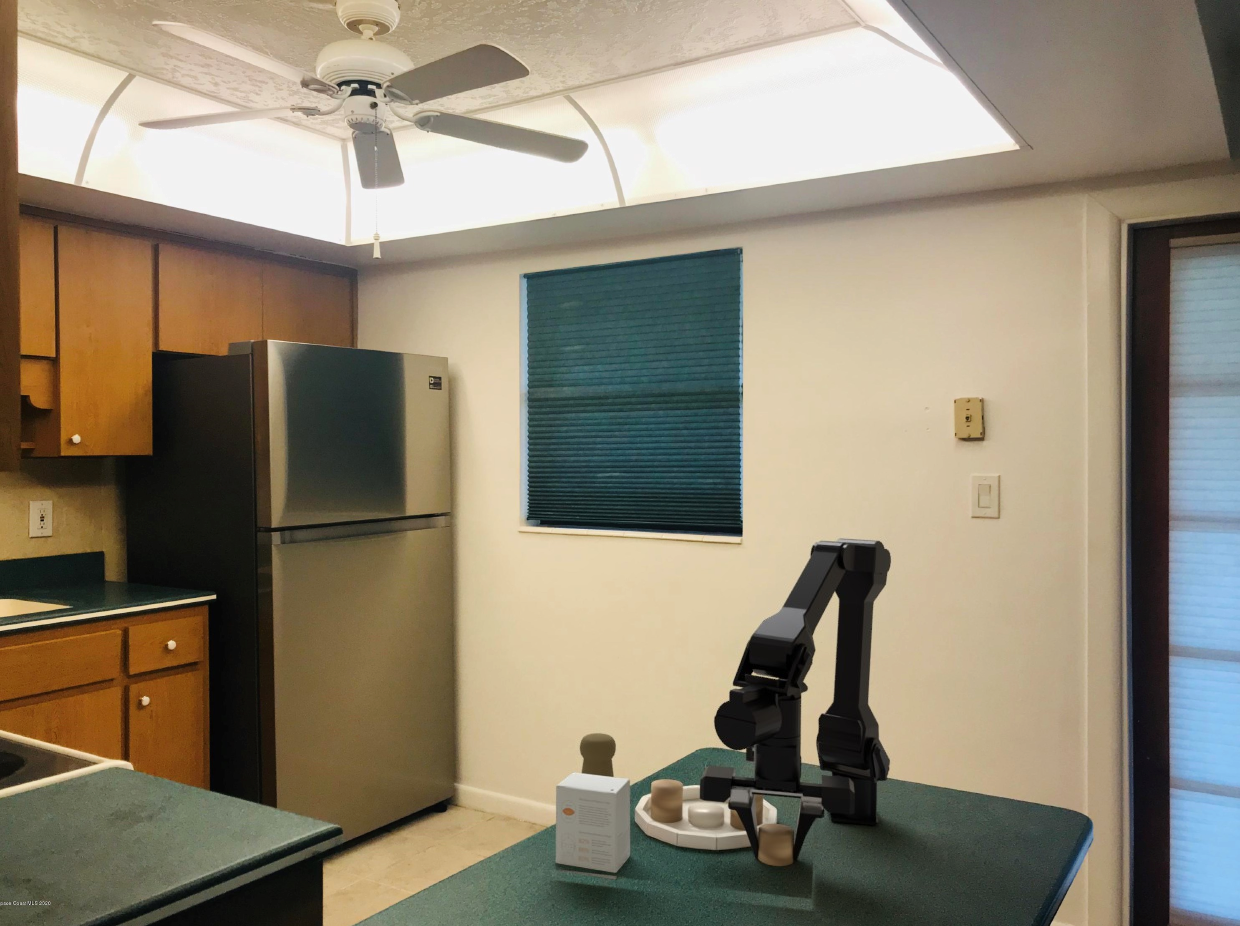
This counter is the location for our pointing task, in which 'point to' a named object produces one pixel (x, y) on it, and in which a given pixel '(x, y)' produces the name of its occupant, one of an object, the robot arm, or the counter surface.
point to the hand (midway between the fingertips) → (775, 857)
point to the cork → (598, 754)
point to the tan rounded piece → (737, 823)
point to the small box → (593, 823)
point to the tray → (697, 833)
